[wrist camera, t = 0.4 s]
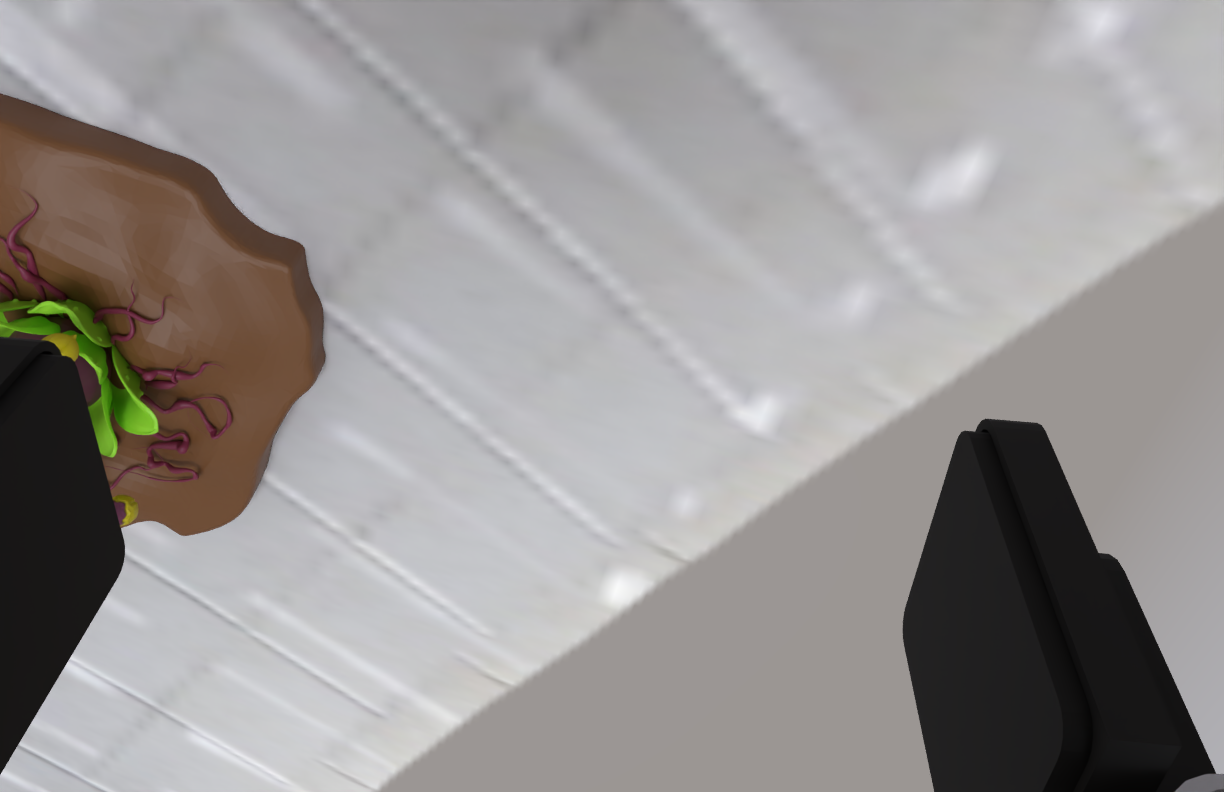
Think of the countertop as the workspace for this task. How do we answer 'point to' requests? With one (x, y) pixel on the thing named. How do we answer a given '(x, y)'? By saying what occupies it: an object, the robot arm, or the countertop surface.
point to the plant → (155, 311)
